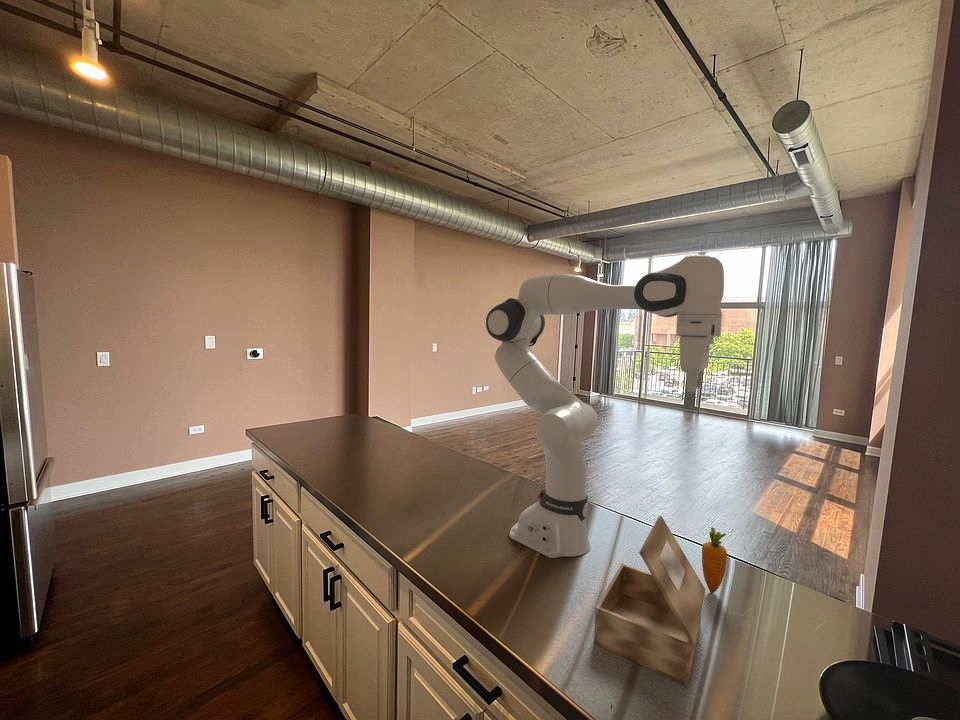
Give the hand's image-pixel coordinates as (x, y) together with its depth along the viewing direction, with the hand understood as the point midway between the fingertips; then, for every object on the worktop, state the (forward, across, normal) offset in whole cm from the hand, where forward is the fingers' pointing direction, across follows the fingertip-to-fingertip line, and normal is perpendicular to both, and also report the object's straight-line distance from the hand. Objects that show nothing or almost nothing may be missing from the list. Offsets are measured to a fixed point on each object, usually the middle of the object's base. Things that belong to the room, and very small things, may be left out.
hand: (694, 389), depth 90 cm
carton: (+46, +20, -3) cm, 51 cm away
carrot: (+47, -2, +6) cm, 47 cm away
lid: (+33, +20, +1) cm, 39 cm away
